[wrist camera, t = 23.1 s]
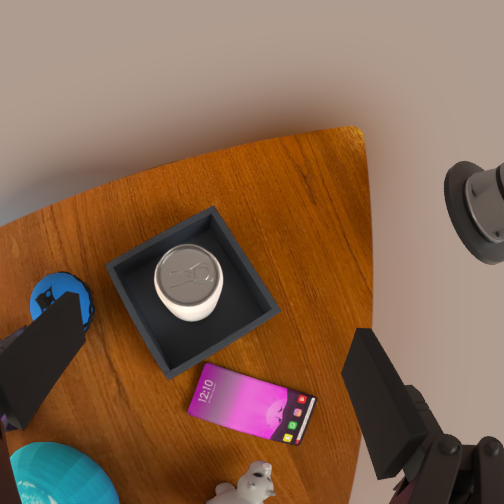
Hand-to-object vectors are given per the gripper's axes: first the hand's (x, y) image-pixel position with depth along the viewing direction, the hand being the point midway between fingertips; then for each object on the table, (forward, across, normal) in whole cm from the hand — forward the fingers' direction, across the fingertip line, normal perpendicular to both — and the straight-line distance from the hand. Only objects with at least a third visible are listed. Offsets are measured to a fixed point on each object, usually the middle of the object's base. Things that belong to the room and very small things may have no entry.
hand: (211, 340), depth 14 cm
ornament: (+20, -20, -13) cm, 31 cm away
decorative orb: (+6, -18, -33) cm, 38 cm away
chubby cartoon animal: (+9, +4, -31) cm, 33 cm away
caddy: (+24, -4, -10) cm, 26 cm away
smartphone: (+16, +5, -21) cm, 27 cm away
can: (+23, -4, -10) cm, 25 cm away
